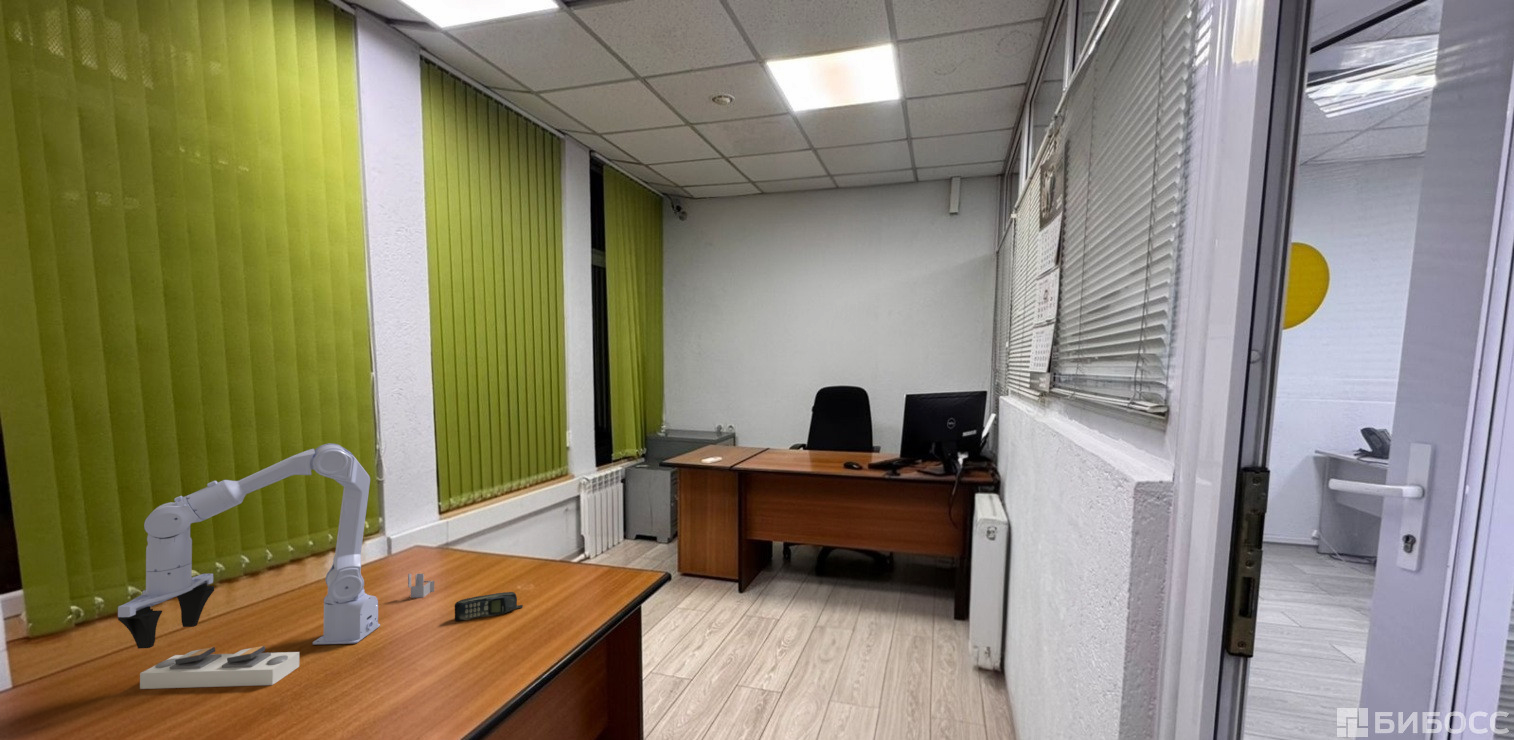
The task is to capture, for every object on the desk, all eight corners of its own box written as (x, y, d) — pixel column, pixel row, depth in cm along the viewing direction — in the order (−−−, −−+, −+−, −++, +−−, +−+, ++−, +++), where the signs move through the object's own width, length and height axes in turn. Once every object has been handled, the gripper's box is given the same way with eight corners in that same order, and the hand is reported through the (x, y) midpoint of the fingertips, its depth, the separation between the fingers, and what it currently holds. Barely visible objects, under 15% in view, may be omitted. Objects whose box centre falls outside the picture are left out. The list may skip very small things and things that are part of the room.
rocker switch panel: (299, 666, 102) (299, 649, 102) (272, 684, 96) (272, 666, 96) (174, 669, 101) (175, 652, 101) (140, 688, 95) (140, 670, 95)
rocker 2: (265, 650, 100) (264, 645, 100) (251, 658, 97) (250, 653, 97) (242, 654, 100) (241, 649, 100) (227, 663, 97) (226, 658, 97)
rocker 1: (215, 651, 100) (214, 646, 100) (199, 660, 97) (198, 655, 97) (192, 655, 99) (191, 650, 99) (175, 664, 96) (175, 659, 96)
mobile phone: (453, 604, 120) (522, 591, 126) (455, 598, 123) (522, 586, 129) (454, 624, 120) (522, 611, 126) (456, 618, 123) (522, 605, 129)
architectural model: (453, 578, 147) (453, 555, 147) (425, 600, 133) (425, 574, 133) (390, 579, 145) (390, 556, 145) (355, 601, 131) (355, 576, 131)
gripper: (188, 552, 103) (187, 618, 103) (99, 582, 88) (99, 658, 88) (224, 552, 103) (223, 617, 103) (142, 581, 89) (141, 657, 89)
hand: (168, 636), depth 96 cm, fingers open, 7 cm apart
